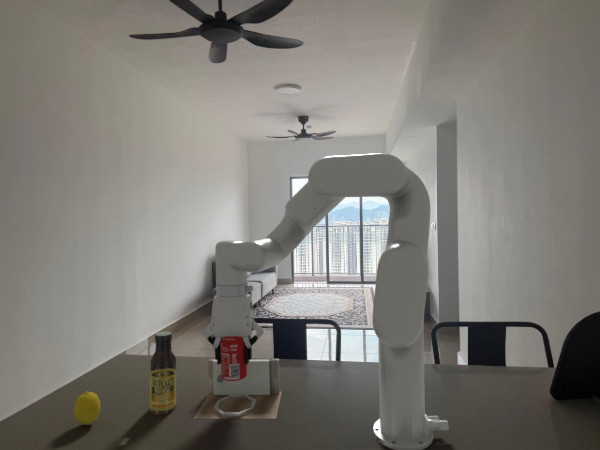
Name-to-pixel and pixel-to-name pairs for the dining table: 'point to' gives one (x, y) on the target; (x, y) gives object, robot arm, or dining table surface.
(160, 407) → the sauce bottle
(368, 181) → the robot arm
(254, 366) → the door
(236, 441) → the dining table surface
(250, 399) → the grey octagonal ring
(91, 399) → the lemon
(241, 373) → the beverage can
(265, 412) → the base
